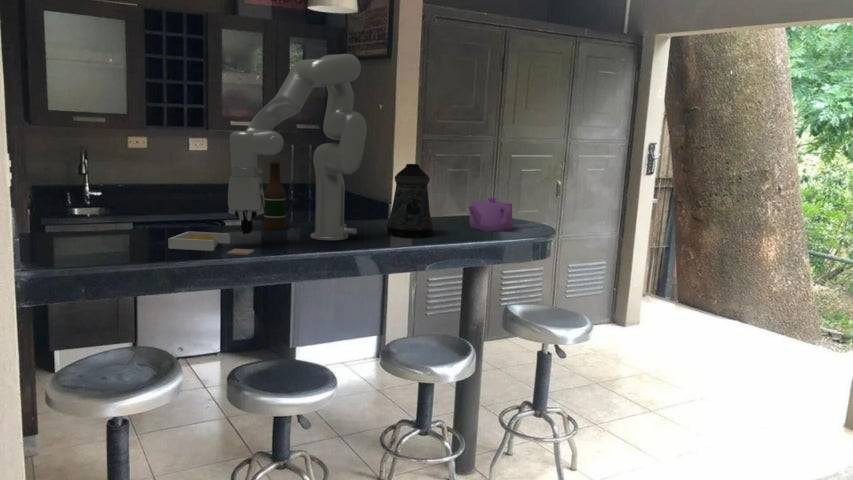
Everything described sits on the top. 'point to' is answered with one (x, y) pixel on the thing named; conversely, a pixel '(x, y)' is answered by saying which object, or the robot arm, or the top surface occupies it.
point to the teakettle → (491, 215)
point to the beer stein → (410, 205)
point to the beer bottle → (274, 200)
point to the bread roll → (204, 238)
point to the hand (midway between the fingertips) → (247, 232)
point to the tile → (240, 251)
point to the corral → (197, 241)
